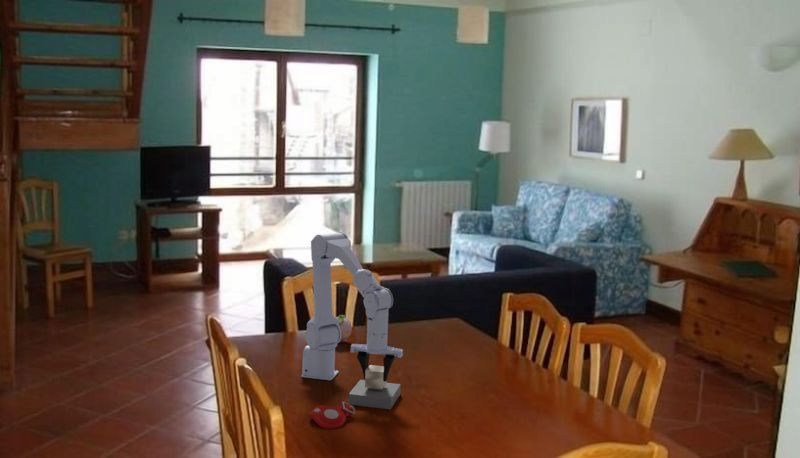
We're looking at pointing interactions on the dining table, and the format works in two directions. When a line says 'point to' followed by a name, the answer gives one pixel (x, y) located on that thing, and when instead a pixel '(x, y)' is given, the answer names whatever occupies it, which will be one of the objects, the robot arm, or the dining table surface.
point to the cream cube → (374, 377)
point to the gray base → (374, 395)
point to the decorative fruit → (344, 327)
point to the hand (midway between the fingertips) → (375, 379)
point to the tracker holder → (332, 415)
